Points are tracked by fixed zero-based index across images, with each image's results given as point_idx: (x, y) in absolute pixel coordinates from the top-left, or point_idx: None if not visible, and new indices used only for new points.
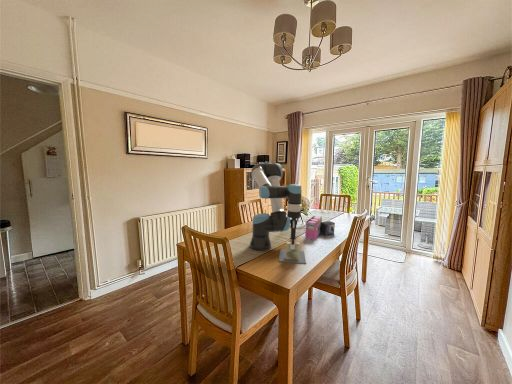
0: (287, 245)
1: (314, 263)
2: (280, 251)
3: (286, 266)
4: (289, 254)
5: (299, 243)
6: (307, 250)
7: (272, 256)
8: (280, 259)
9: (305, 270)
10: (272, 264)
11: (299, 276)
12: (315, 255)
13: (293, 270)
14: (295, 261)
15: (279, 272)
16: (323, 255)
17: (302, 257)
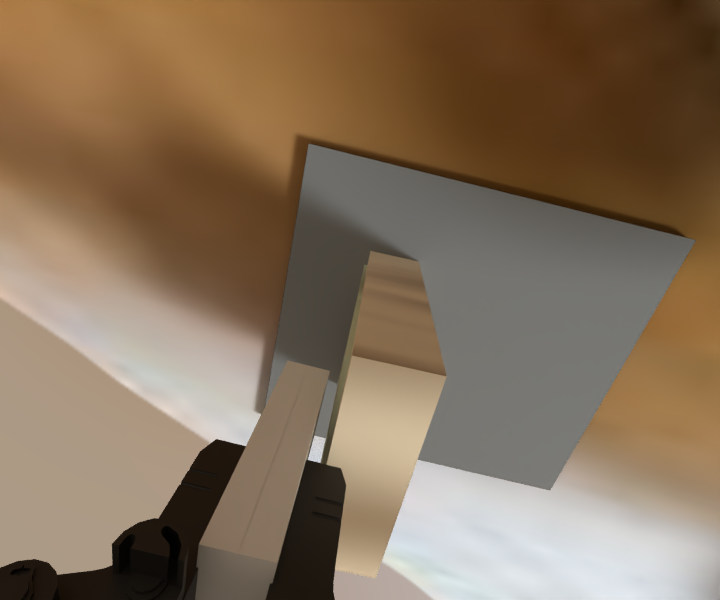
0: (346, 352)
1: None
2: (616, 230)
3: (196, 215)
4: (353, 314)
5: None
6: (575, 521)
7: (493, 75)
8: (352, 176)
9: (138, 374)
10: (233, 32)
11: (13, 292)
12: (444, 540)
13: (117, 268)
14: (295, 339)
15: (38, 97)
16: (435, 588)
17: None
